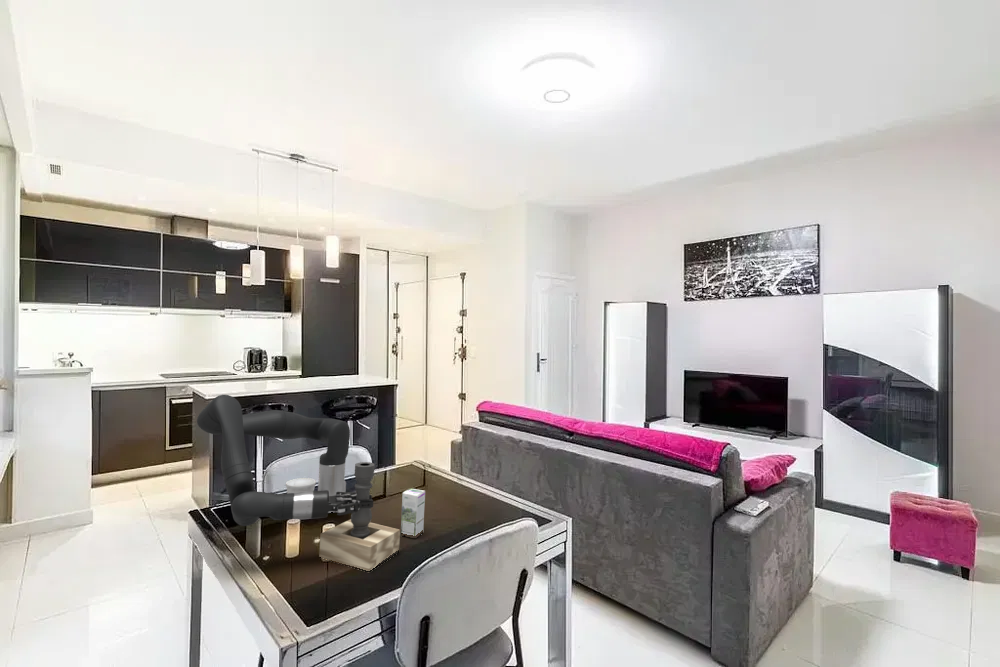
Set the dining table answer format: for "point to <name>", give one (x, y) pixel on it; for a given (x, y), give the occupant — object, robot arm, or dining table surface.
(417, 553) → the dining table surface
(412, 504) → the syrup box
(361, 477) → the candle holder
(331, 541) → the socket block
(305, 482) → the ramekin
